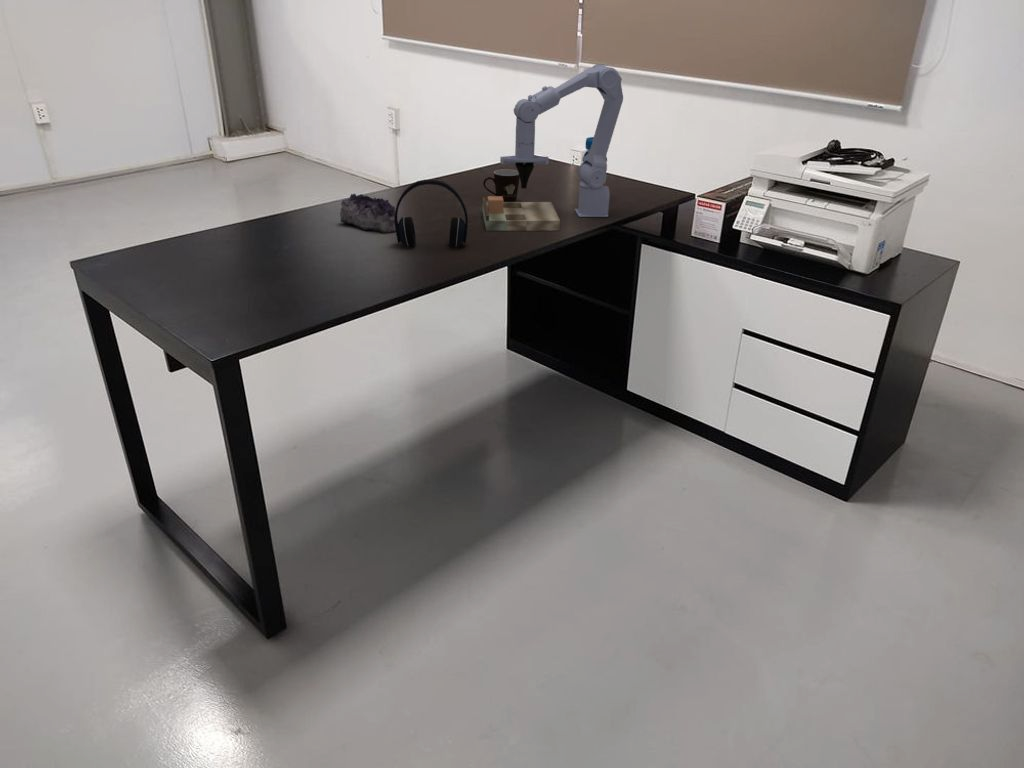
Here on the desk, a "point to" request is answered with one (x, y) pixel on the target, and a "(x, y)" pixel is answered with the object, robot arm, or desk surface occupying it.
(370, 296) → the desk surface
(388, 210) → the geode
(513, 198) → the coffee mug
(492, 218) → the trap board
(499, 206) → the block
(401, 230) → the headphones
